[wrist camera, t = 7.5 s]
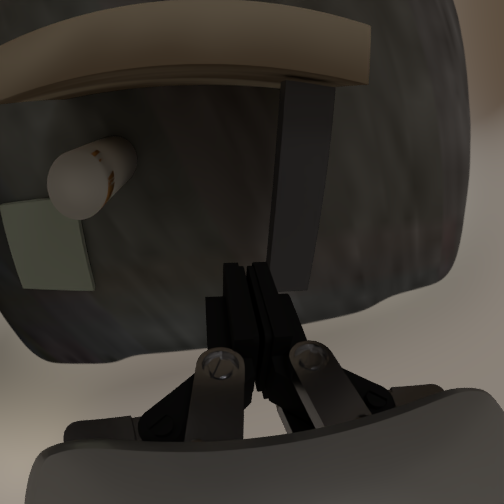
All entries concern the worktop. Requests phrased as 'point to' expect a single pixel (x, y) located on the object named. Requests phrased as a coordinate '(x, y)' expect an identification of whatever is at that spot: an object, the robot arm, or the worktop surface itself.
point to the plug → (90, 176)
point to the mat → (47, 246)
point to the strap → (298, 181)
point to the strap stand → (184, 49)
